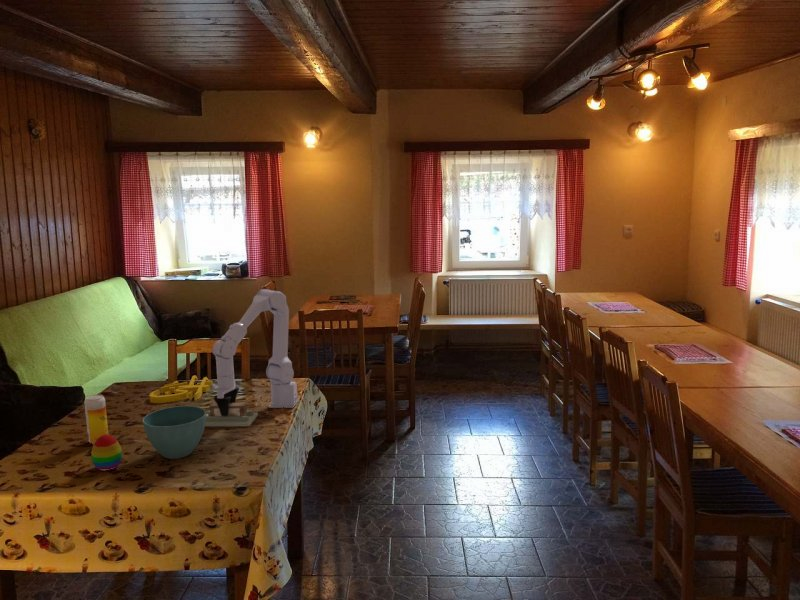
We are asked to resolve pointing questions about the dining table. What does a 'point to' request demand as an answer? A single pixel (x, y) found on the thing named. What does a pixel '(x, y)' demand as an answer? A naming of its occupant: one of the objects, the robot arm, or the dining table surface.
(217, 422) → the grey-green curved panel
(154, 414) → the teal bowl
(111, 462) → the decorative egg
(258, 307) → the robot arm
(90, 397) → the yellow bottle
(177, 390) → the decorative art
